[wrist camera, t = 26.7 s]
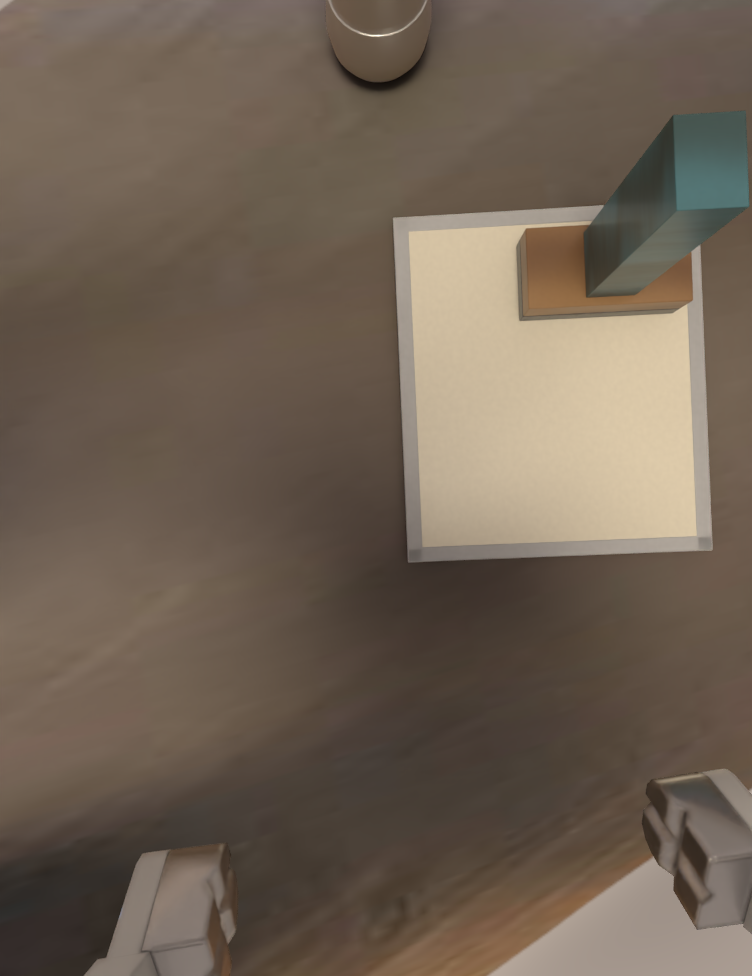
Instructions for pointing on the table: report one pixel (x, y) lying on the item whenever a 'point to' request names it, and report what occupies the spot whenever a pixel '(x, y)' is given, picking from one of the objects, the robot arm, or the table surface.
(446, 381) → the whiteboard
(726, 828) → the robot arm
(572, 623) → the table surface
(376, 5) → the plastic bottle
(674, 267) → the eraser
